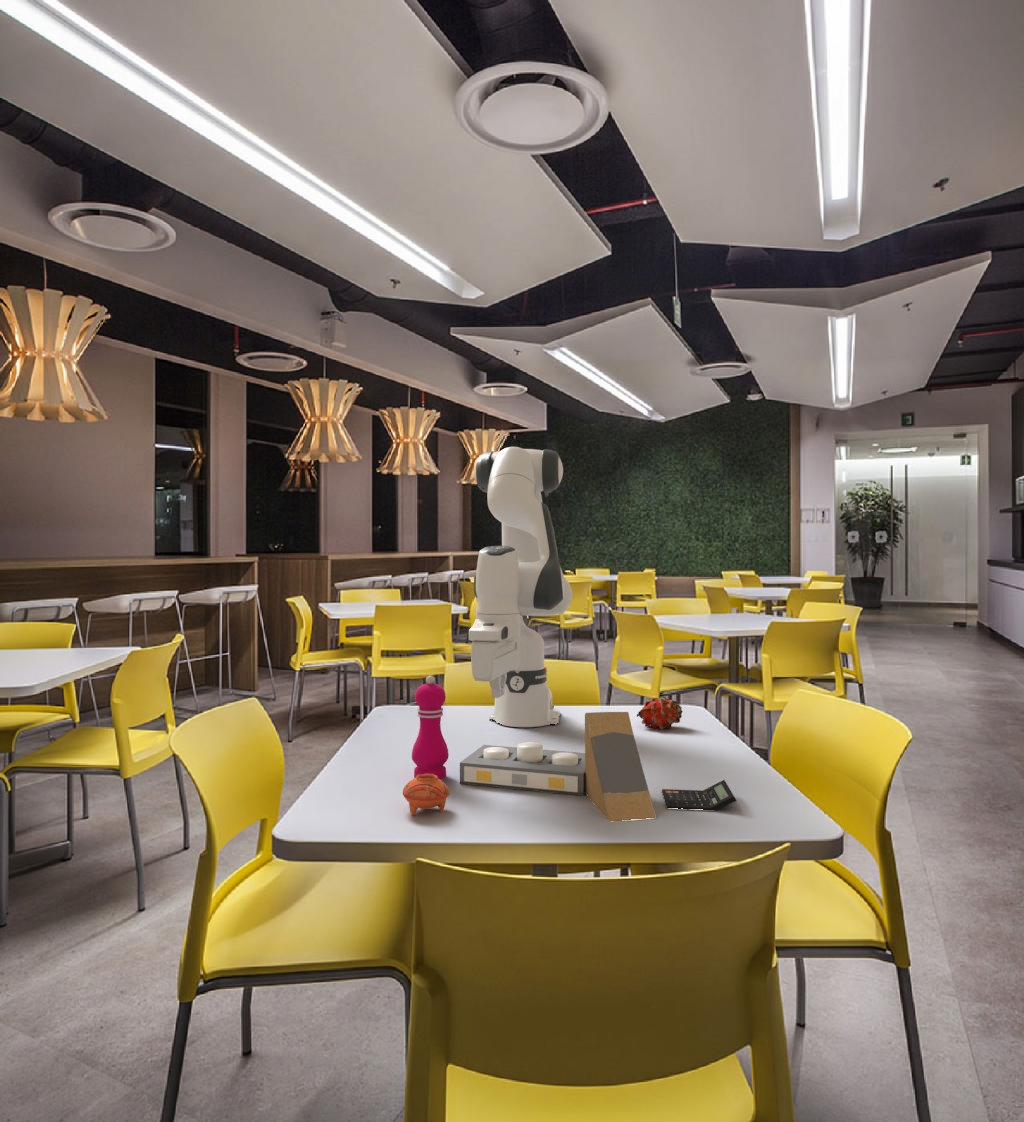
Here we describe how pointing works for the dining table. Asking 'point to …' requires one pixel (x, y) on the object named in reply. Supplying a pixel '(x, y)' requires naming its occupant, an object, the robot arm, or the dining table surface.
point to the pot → (425, 793)
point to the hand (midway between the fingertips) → (498, 696)
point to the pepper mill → (430, 731)
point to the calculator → (700, 797)
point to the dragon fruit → (660, 713)
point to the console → (524, 772)
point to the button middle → (530, 752)
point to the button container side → (565, 759)
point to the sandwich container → (615, 768)
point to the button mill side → (496, 753)
